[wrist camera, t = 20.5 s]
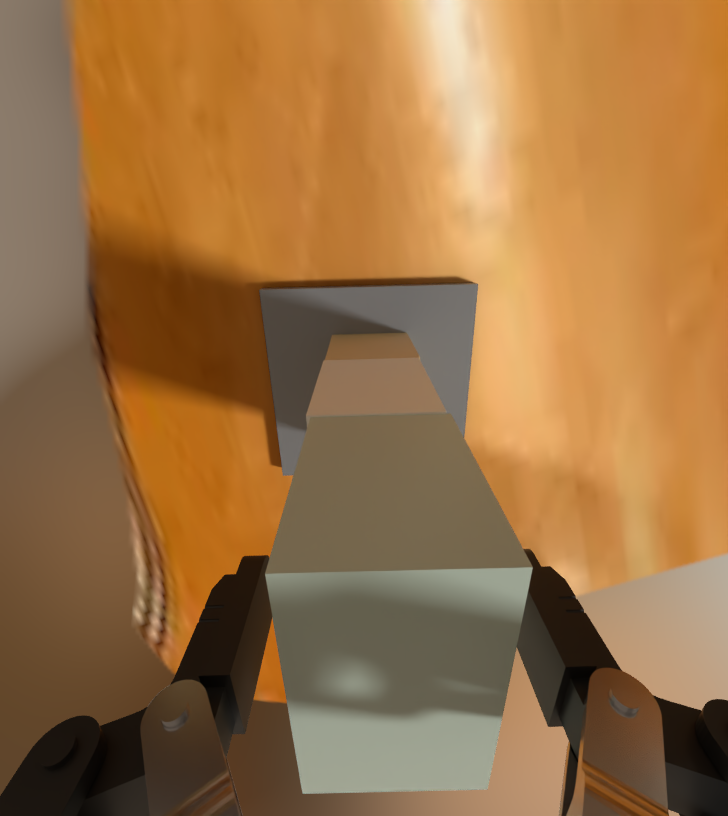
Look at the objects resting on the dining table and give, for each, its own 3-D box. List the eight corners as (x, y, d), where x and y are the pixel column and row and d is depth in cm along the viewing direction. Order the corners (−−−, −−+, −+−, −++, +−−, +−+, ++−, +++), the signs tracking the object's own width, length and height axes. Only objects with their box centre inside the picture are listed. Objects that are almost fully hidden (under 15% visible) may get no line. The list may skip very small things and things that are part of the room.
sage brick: (310, 416, 14) (265, 573, 7) (451, 413, 13) (532, 567, 7) (325, 581, 17) (302, 793, 10) (438, 579, 17) (487, 789, 10)
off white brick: (323, 360, 20) (306, 415, 13) (418, 357, 20) (446, 411, 13) (332, 487, 23) (322, 581, 17) (414, 485, 23) (435, 578, 17)
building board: (262, 288, 25) (229, 303, 19) (473, 282, 25) (513, 295, 19) (285, 468, 31) (265, 527, 24) (458, 463, 31) (484, 521, 24)
